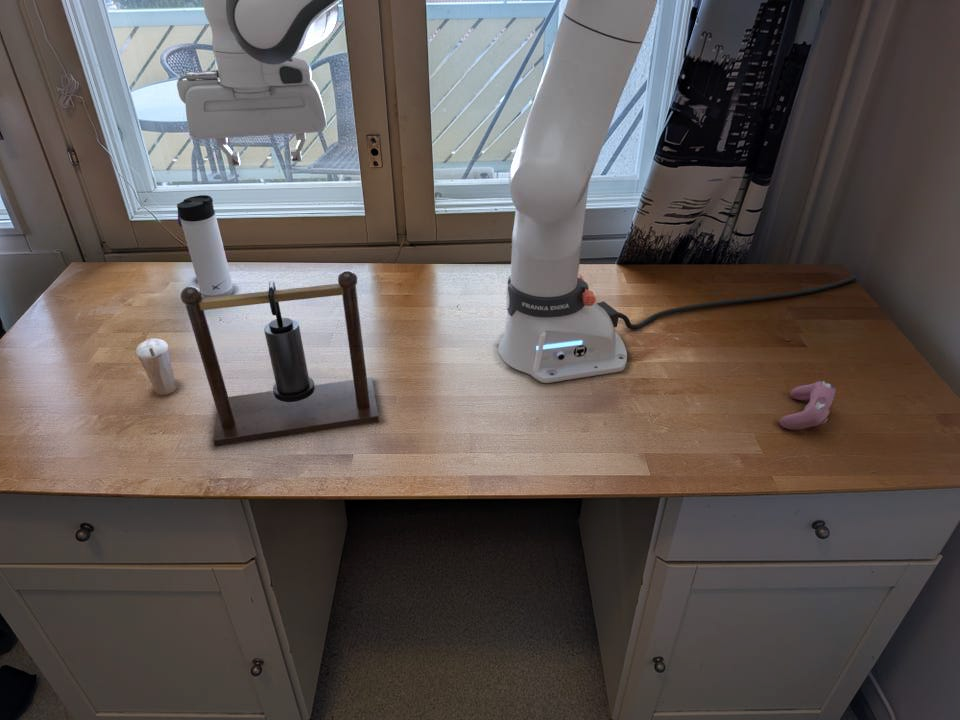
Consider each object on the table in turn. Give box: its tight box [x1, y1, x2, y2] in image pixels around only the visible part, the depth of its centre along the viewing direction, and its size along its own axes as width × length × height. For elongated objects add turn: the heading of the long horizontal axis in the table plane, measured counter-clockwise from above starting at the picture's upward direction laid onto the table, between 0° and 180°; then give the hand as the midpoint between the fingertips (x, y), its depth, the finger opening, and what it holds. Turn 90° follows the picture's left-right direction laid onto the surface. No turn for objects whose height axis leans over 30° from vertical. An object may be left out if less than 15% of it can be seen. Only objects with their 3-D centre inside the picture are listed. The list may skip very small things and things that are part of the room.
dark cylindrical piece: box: [263, 280, 316, 402], centre depth 92 cm, size 8×6×18 cm
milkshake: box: [135, 337, 178, 396], centre depth 102 cm, size 4×5×10 cm
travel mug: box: [176, 194, 235, 298], centre depth 125 cm, size 6×7×20 cm
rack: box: [180, 269, 380, 447], centre depth 94 cm, size 10×24×25 cm, turn 104°
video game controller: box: [779, 380, 837, 431], centre depth 100 cm, size 10×5×7 cm, turn 148°
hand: (266, 162), depth 103 cm, fingers open, 8 cm apart
